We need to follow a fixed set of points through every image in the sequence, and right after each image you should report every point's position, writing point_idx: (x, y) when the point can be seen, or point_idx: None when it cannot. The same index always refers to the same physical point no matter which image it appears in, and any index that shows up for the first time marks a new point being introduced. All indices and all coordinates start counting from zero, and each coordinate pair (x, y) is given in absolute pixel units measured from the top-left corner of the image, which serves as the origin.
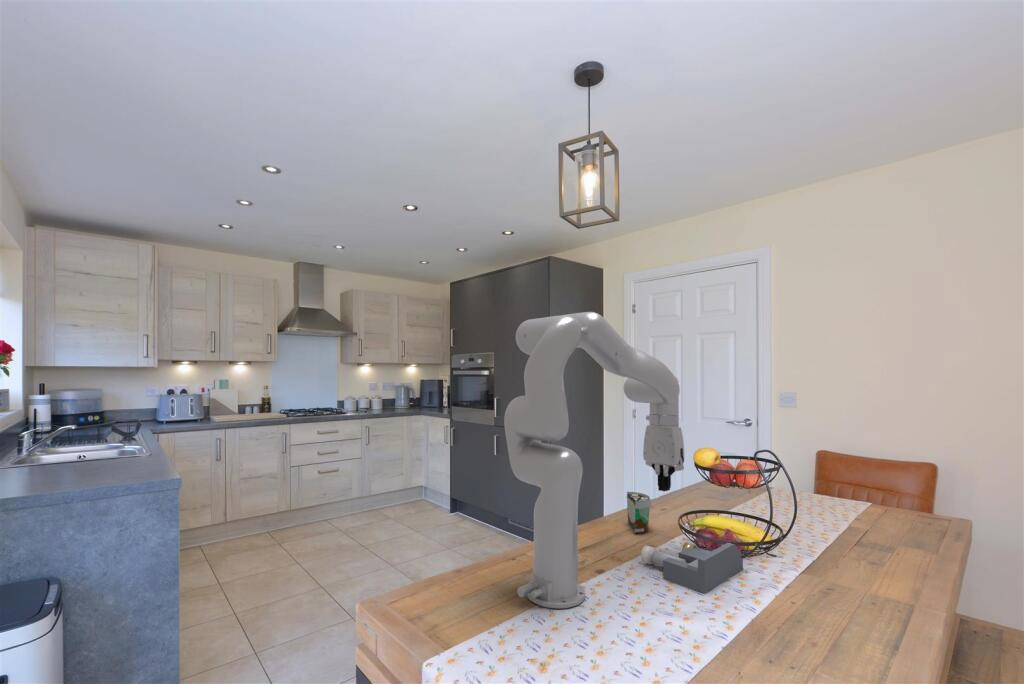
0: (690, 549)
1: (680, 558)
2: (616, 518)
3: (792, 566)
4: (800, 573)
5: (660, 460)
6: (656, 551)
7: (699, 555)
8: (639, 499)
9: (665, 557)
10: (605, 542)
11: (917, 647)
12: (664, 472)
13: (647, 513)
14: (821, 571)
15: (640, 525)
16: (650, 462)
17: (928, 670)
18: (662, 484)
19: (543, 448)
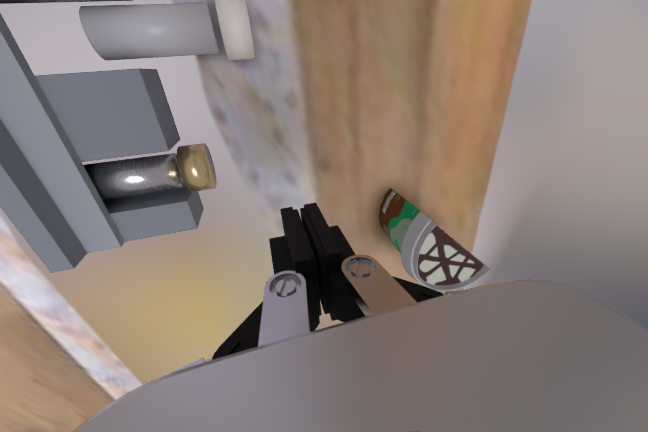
0: (149, 134)
1: (99, 33)
2: (465, 229)
3: (70, 321)
4: (23, 308)
5: (342, 370)
6: (200, 22)
7: (83, 109)
8: (441, 259)
9: (150, 10)
10: (412, 78)
11: None
12: (298, 292)
13: (397, 242)
14: (21, 346)
15: (391, 208)
16: (469, 289)
17: None
18: (294, 224)
19: None
